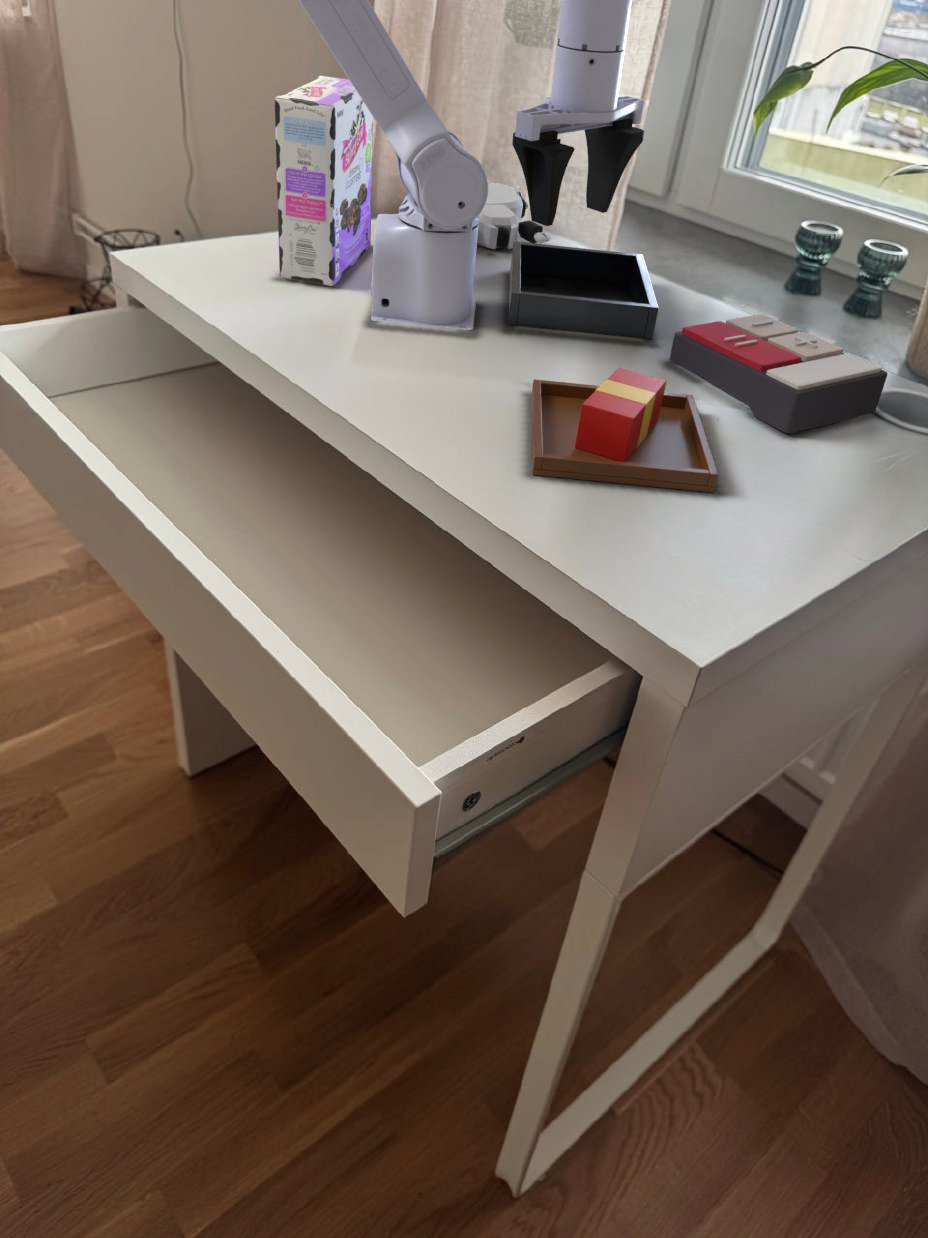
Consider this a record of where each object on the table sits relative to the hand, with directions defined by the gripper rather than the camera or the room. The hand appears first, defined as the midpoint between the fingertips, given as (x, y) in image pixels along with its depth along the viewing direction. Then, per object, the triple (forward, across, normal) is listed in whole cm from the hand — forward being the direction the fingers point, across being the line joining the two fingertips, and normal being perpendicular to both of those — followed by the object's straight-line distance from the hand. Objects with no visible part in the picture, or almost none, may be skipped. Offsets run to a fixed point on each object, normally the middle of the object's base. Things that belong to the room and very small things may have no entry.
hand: (569, 216), depth 89 cm
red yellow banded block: (+9, +16, +20) cm, 27 cm away
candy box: (+9, +11, -23) cm, 27 cm away
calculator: (+10, -4, +22) cm, 24 cm away
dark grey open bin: (+10, -3, 0) cm, 10 cm away
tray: (+9, +16, +20) cm, 27 cm away
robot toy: (+10, -10, -22) cm, 26 cm away
